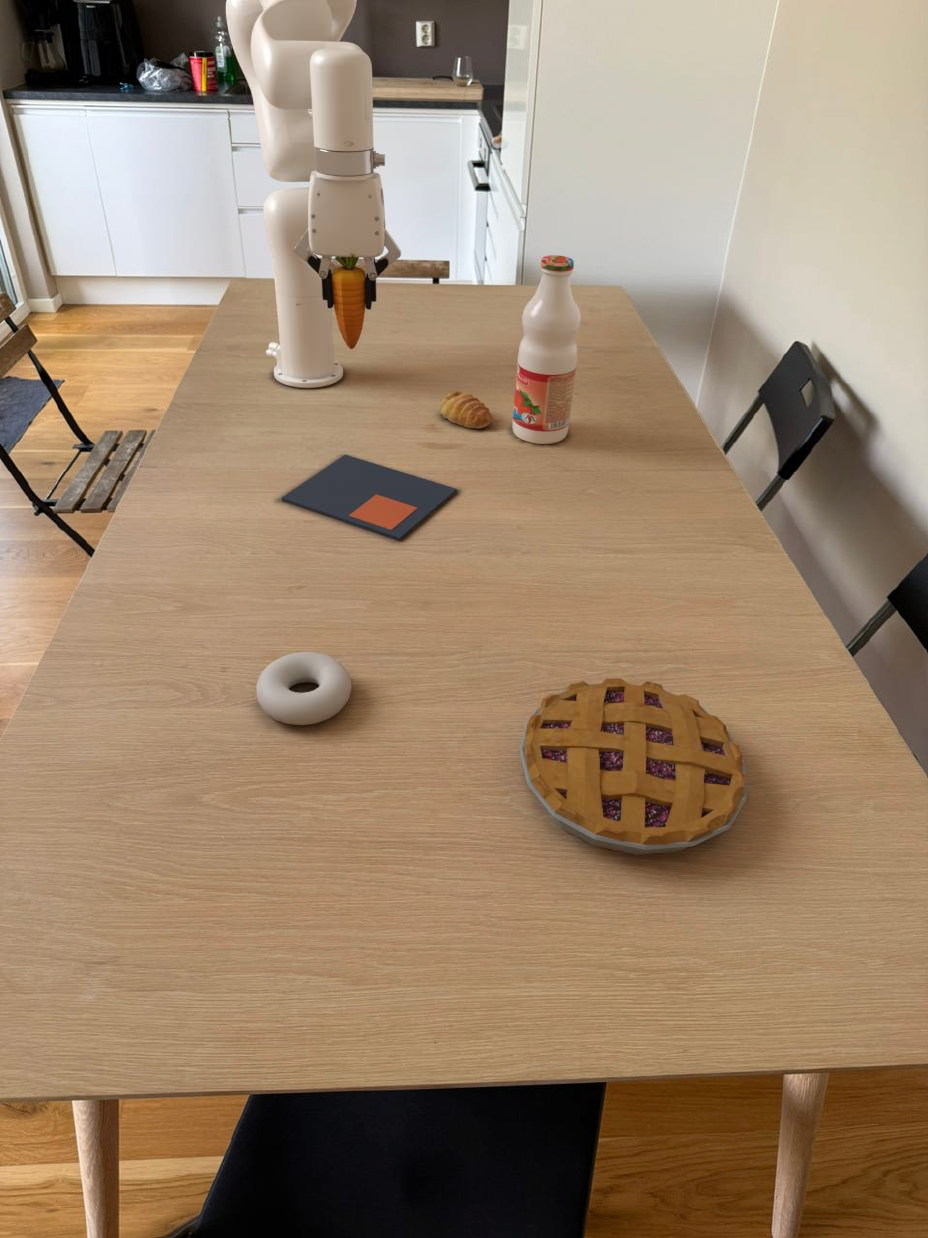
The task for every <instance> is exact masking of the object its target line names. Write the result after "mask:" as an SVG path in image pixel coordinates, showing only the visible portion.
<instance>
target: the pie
mask: <svg viewBox="0 0 928 1238" xmlns="http://www.w3.org/2000/svg"><path fill="white" fill-rule="evenodd" d="M519 755H520V758H521V764H522V768H523V771H524V775H525V779H526V784H527V786H528V787H529V788H530V790H531V791H532V792H533V794H534V795H535V796H536V797H537V799H538V800H539V801H540V803H541V804H542V805H543V807H544V808H545V809H546V810H547V811H548V812H549V814H550V815H551V817H552V818H553V819H554V821H555V822H556V823H557V824H558V826H559V827H560V829H562V830H563V831H565V832H567V833H569V834H571V835H572V836H574V837H576V838H578V839H580V840H582V841H584V842H586V843H588V844H590V845H592V846H594V847H598V848H602V849H608V850H612V851H618V852H622V853H627V854H631V855H637V856H638V855H641V856H642V855H653V854H663V853H664V854H665V853H675V852H676V853H677V852H681V851H683V850H685V849H687V848H690V847H694V846H696V845H699V844H700V843H703V842H705V841H707V840H709V839H711V838H713V837H715V836H717V835H719V834H721V833H723V832H726V831H728V830H730V829H731V827H732V825H733V823H734V822H735V820H736V819H737V817H738V815H739V814H740V811H741V810H742V808H743V806H744V805H745V803H746V801H747V775H746V764H745V762H744V760H743V754H742V751H741V748H740V745H739V744H736V743H735V742H734V740H733V737H732V736H731V734H730V732H729V731H728V729H727V726H726V724H725V723H724V722H723V721H722V720H721V719H720V718H719V717H718V716H716V715H712V714H710V713H709V712H708V711H707V710H705V708H703V707H702V706H701V705H700V702H699V700H698V699H696V698H694V697H692V696H690V695H688V694H685V693H683V694H679V695H676V694H675V693H672V692H670V691H668V690H665V689H664V687H663V685H662V684H661V683H656V682H652V681H645V682H643V683H642V684H640V685H639V684H633V683H629V682H627V681H625V680H624V679H622V678H605V679H604V680H603V681H602V682H601V683H600V682H599V683H587V682H586V681H585V680H582V681H578V682H573V683H569V685H568V687H567V688H566V689H565V690H563V691H560V692H558V693H555V694H554V693H550V694H549V695H547V696H546V697H543V698H542V699H541V702H540V705H539V707H538V708H537V709H536V710H534V712H533V713H532V714H531V715H530V716H529V717H528V718H527V719H526V723H525V727H524V731H523V735H522V738H521V743H520V747H519Z"/></svg>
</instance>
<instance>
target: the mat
mask: <svg viewBox="0 0 928 1238" xmlns="http://www.w3.org/2000/svg"><path fill="white" fill-rule="evenodd" d="M457 492H458V489H457V488H456V487H452V486H448V485H445V484H442V483H439V482H435V481H432V480H429V479H427V478H426V479H425V478H423V477H419V476H416V475H413V474H410V473H407V472H404V471H401V470H397V469H393V468H390V467H387V466H384V465H381V464H377V463H374V462H371V461H368V460H365V459H361V458H357V457H355V456H351V455H348V454H344V455H342V456H340V457H339V458H337V459H336V460H334V461H333V462H332V463H331V464H329V465H328V466H326V467H325V468H323V469H321V470H320V471H319V472H317V473H315V474H314V475H313V476H311V477H310V478H308V479H307V480H306V481H304V482H303V483H301V484H300V485H298V486H296V487H295V488H293V489H292V490H290V491H289V492H288V493H286V494H285V495H283V496H281V498H280V499H281V501H282V502H285V503H288V504H291V505H293V506H296V507H300V508H303V509H306V510H308V511H310V512H311V511H312V512H314V513H317V514H321V515H323V516H326V517H329V518H332V519H335V520H338V521H341V522H344V523H346V524H349V525H352V526H356V527H359V528H361V529H364V530H368V531H370V532H373V533H376V534H379V535H381V536H384V537H388V538H391V539H392V540H393V539H394V540H396V541H399V542H400V541H402V539H404V538H406V536H407V535H408V534H409V533H411V532H412V531H413V530H414V529H416V528H417V527H418V526H419V525H421V523H422V522H423V521H425V520H426V519H427V518H428V517H429V516H431V514H433V513H434V512H435V511H436V510H438V509H439V508H440V507H441V506H442V505H444V503H446V502H447V501H448V500H449V499H450V498H452V497H453V496H454V495H455V494H456V493H457Z"/></svg>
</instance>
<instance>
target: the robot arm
mask: <svg viewBox="0 0 928 1238" xmlns="http://www.w3.org/2000/svg"><path fill="white" fill-rule="evenodd" d="M357 2H358V1H357V0H226V1H225V18H226V24H227V30H228V36H229V39H230V42H231V46H232V49H233V52H234V55H235V58H236V60H237V62H238V64H239V67H240V69H241V72H242V73H243V75H244V78H245V80H246V82H247V84H248V87H249V89H250V93H251V97H252V102H253V108H254V114H255V115H254V116H255V121H256V127H257V132H258V133H257V134H258V138H259V139H258V140H259V145H260V150H261V156H262V160H263V163H264V168H265V170H266V173H267V174H268V175H269V176H270V178H271V179H273V180H276V181H278V182H283V183H309V186H308V187H307V186H306V187H287V188H281V189H278V190H276V191H274V192H272V193H270V194H269V195H268V196H267V197H266V198H265V200H264V204H263V207H262V214H263V222H264V228H265V231H266V237H267V240H268V245H269V251H270V255H271V262H272V268H273V279H274V290H275V303H276V314H277V322H278V323H277V326H278V338H279V343H278V342H276V341H275V342H274V341H271V342H269V344H268V348H267V349H266V350H265V355H266V357H268V358H272V359H275V360H276V365H275V366H274V367H273V376H274V379H275V380H276V381H278V382H279V383H281V384H283V385H285V386H288V387H294V388H301V389H313V388H322V387H327V386H330V385H333V384H335V383H337V382H339V381H340V380H341V379H342V377H344V368H343V366H342V364H340V363H339V361H336V360H335V350H334V330H333V328H334V327H333V309H332V308H334V301H333V290H332V275H333V272H332V269H331V263H332V258H335V257H351V253H354V254H355V255H354V257H359V259H360V258H362V259H363V262H364V266H365V270H366V279H365V303H366V304H365V309H366V310H367V311H368V310H369V311H370V310H372V304H373V303H376V302H377V279H378V277H379V276H381V274H382V273H383V272H384V271H385V270H387V268H388V267H389V266H390V265H392V264H393V263H394V262H396V261H397V260H398V259H400V257H401V256H402V250H401V248H400V247H399V245H398V244H397V243H396V241H395V240H394V238H393V237H392V235H391V234H390V233H389V231H388V230H387V228H386V212H385V197H384V189H383V184H382V178H381V174H380V173H378V172H375V170H376V169H377V168H380V166H381V167H386V154H383V153H379V152H377V150H375V147H374V99H373V68H372V67H373V66H372V60H371V58H370V56H369V55H368V54H367V53H366V52H365V51H363V49H362V48H361V47H360V46H359V45H357V44H356V43H353V42H349V41H341V39H342V38H343V36H344V34H345V32H346V30H347V28H348V27H349V25H350V23H351V21H352V19H353V18H354V17H353V16H354V14H355V11H356V7H357ZM309 110H311V113H312V114H310V113H309ZM385 248H386V249H387V253H385V254H384V250H385ZM383 254H384V255H383ZM381 255H382V256H381ZM319 256H320V257H321V259H320V257H319ZM380 256H381V257H380ZM378 257H380V258H379V259H378V260H376V258H378Z"/></svg>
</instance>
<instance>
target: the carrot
mask: <svg viewBox="0 0 928 1238" xmlns="http://www.w3.org/2000/svg"><path fill="white" fill-rule="evenodd" d="M354 255H355V254H354V253H351V257H334V259H335V260H336V261H337V263H339V264H340V265H341V266H338V267H336V268H334V269H333V270H332V290H333V301H334V305H333V309H334V314H335V318H336V321H337V323H336V324H337V327H338V330H339V332H340V334H341V338H342V340H343V341H344V342H345V344H346V346H347V347H348V348H349V349H350V350H353V349H354V348H355V347H356V346H357V344H358V342H359V340H360V337H361V334H362V331H363V326H364V322H365V321H364V320H365V313H366V303H365V279H366V276H367V274H366V271H365V270H364V269H363V268H361V267H358V266H356V265H357V263H358V261H359V259H360V257H354Z"/></svg>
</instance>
